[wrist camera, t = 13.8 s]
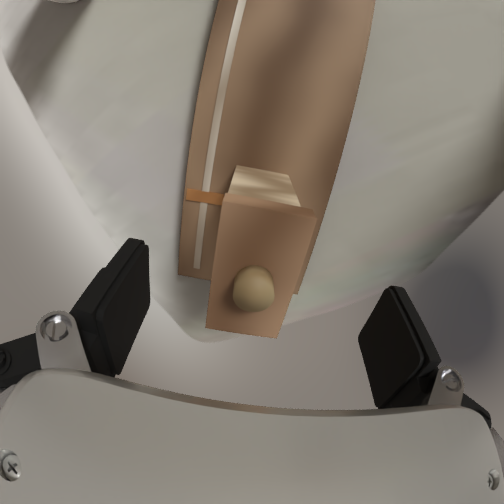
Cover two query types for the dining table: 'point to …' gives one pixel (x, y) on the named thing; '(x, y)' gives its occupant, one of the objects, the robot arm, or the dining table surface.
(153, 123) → the dining table surface
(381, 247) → the dining table surface
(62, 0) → the white cup
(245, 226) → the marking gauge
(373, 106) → the dining table surface
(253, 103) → the marking board
